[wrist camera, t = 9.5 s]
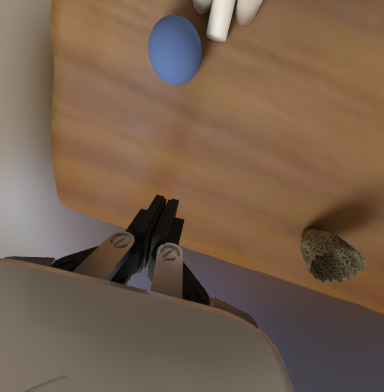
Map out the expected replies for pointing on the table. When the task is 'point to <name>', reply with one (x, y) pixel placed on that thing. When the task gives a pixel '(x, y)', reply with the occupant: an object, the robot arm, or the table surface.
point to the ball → (175, 49)
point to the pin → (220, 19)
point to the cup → (329, 255)
